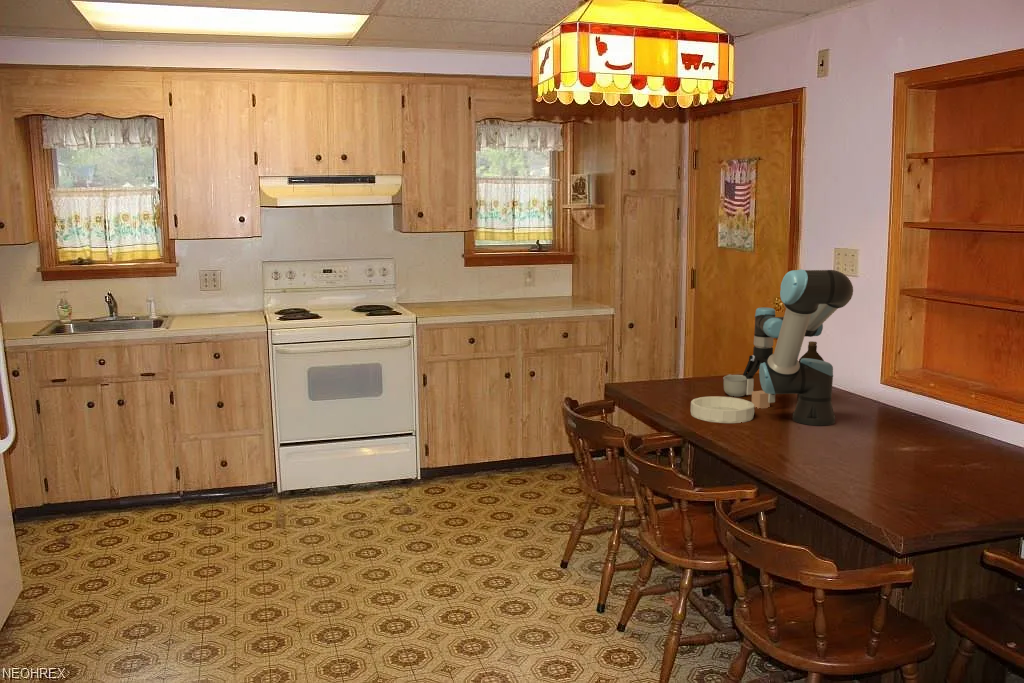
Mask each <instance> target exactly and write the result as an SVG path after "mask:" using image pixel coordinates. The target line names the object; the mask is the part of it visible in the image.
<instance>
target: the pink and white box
mask: <svg viewBox="0 0 1024 683" xmlns="http://www.w3.org/2000/svg"><path fill="white" fill-rule="evenodd" d="M768 396H769V394H767V393H765V392H764V391H763V390H753V391H752V394H751V402H752V403H753V404H754V408H756V407H757V408H756V409H759V408H761V409H767V408H768V407H770V406H771V405H770V404H771V403H769V402H768Z"/></svg>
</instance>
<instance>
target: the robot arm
mask: <svg viewBox="0 0 1024 683" xmlns="http://www.w3.org/2000/svg"><path fill="white" fill-rule="evenodd" d="M779 293H780V294H779V295H780V300H781V302H782V303H783V306H784V308H785V310H784V315H783V316H776V310H775V308H772V307H757V308H756V309H755V313H754V333H753V345H754V346H753V350H752V351H753V352H752V353H753V354H752V355H749V356H748V362H747V364H746V366H745V369H744V371H743V373H742V375H743V376H746V378H747V383H746V385H747V393H746V394H745V395H746V396H749V395H750V396H752V391H754V386H755V385H754V383H755V379H754V376H755V375H756V373H757V372H759V374H758V375H759V383H760V386H761V390H762V391H764V392H765V393H767V394H769V396H768V402H769V403H770V404H771V403H775V402H776V395H797V394H799V399H798V401H797V403H796V405H795V408H794V410H793V413H792V421H794V422H796V423H799V424H802V425H808V426H817V427H818V426H831V425H834V424H836V423H835V422H836V415H835V413H834V412H835V411H834V408H833V404H832V394H833V382H834V380H833V379H834V366H833V365H832V364H831V363H830V362H827V361H825V360H824V361H821V360H816V359H810V358H802V359H801V361H800V362H801V363H799V356H800V353H801V350H802V346H803V342H804V339H805V337H810V338H813V337H818V336H821V334H822V331H823V329H824V326H823V325H824V323H825V322H826V321H827V320H828V319H829V318H830V317H831V316H832V315H833V314H834V313H835V312H836V311H838V309H841V308H844V307H845V306H846V305H847V304H849V302H850V301H851V299H852V298H853V294H854V285H853V283H852V281H851V279H850V278H849V277H848V276H847V275H846V274H844V273H842V272H841V271H838V270H834V269H813V270H812V269H810V270H809V269H807V270H806V269H801V268H800V269H796V270H795V269H793V270H790V271H788V272H787V273H785V275H784V276H783V278H782V281H781V283H780V291H779ZM774 339H777V340H776V344H775V348H773V346H774Z"/></svg>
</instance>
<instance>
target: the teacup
mask: <svg viewBox="0 0 1024 683" xmlns="http://www.w3.org/2000/svg"><path fill="white" fill-rule="evenodd" d="M722 379H723V391H724V392H725V394H727V395H728V397H733V396H734V397H733V398H741V397H744V396H745V395H746V394H747V385H746V383H747V378H746V376H743V374H727V375H724V376H723V377H722Z"/></svg>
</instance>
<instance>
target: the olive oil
mask: <svg viewBox="0 0 1024 683" xmlns="http://www.w3.org/2000/svg"><path fill="white" fill-rule="evenodd" d="M817 344H818V342H817V341H808V344H807V351H806V352H805V353H804V354H803V355H802V356H801V357H800V358H798V361H799V363H801V362H800V361H801V359H802V358H810V359H816V360H821V361H825V360H824V359H823V357H822V355H820V353H819V352H818V351H817V348H818V346H817ZM796 396H797V398H796V401H797V402H798V399H799V394H796Z"/></svg>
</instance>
